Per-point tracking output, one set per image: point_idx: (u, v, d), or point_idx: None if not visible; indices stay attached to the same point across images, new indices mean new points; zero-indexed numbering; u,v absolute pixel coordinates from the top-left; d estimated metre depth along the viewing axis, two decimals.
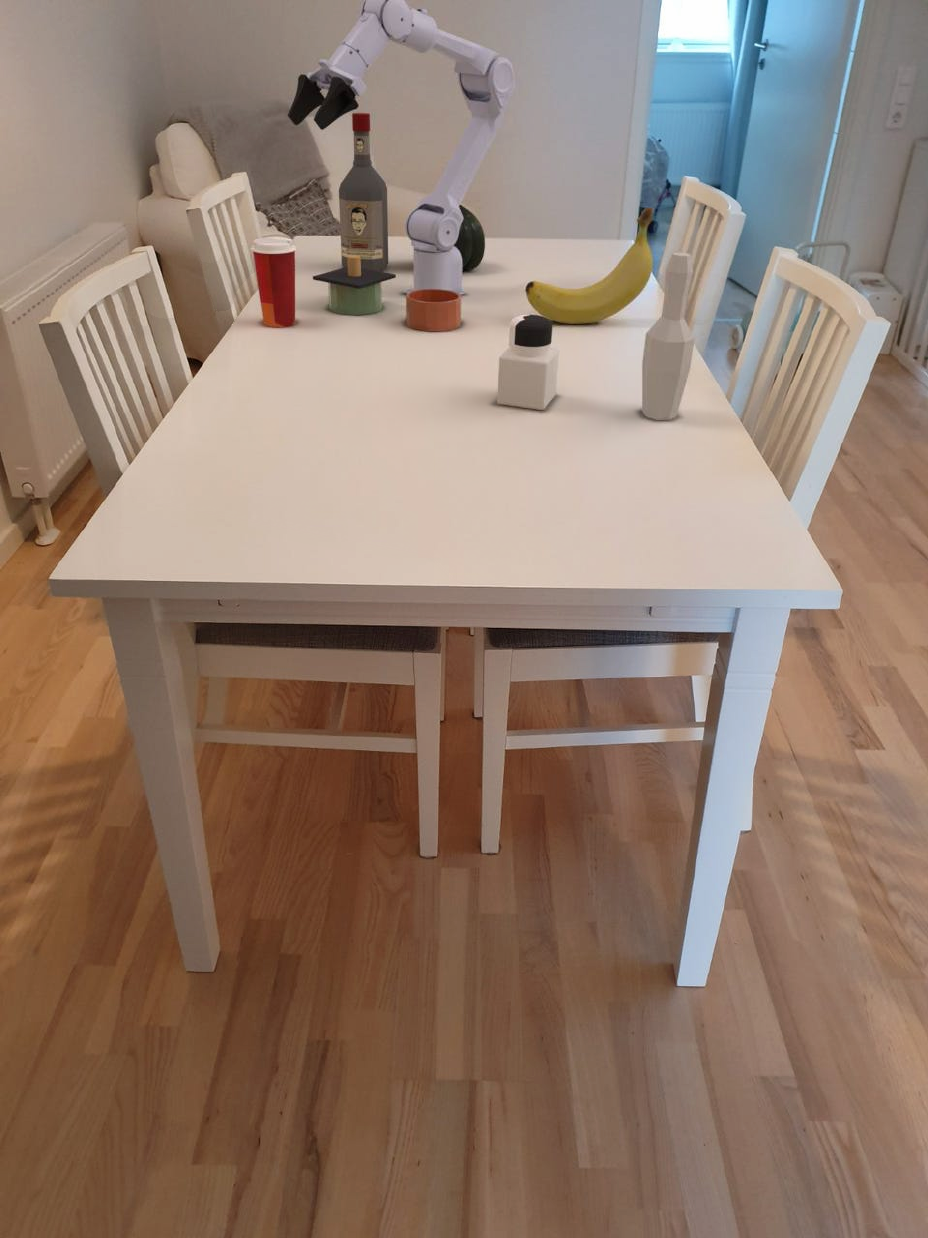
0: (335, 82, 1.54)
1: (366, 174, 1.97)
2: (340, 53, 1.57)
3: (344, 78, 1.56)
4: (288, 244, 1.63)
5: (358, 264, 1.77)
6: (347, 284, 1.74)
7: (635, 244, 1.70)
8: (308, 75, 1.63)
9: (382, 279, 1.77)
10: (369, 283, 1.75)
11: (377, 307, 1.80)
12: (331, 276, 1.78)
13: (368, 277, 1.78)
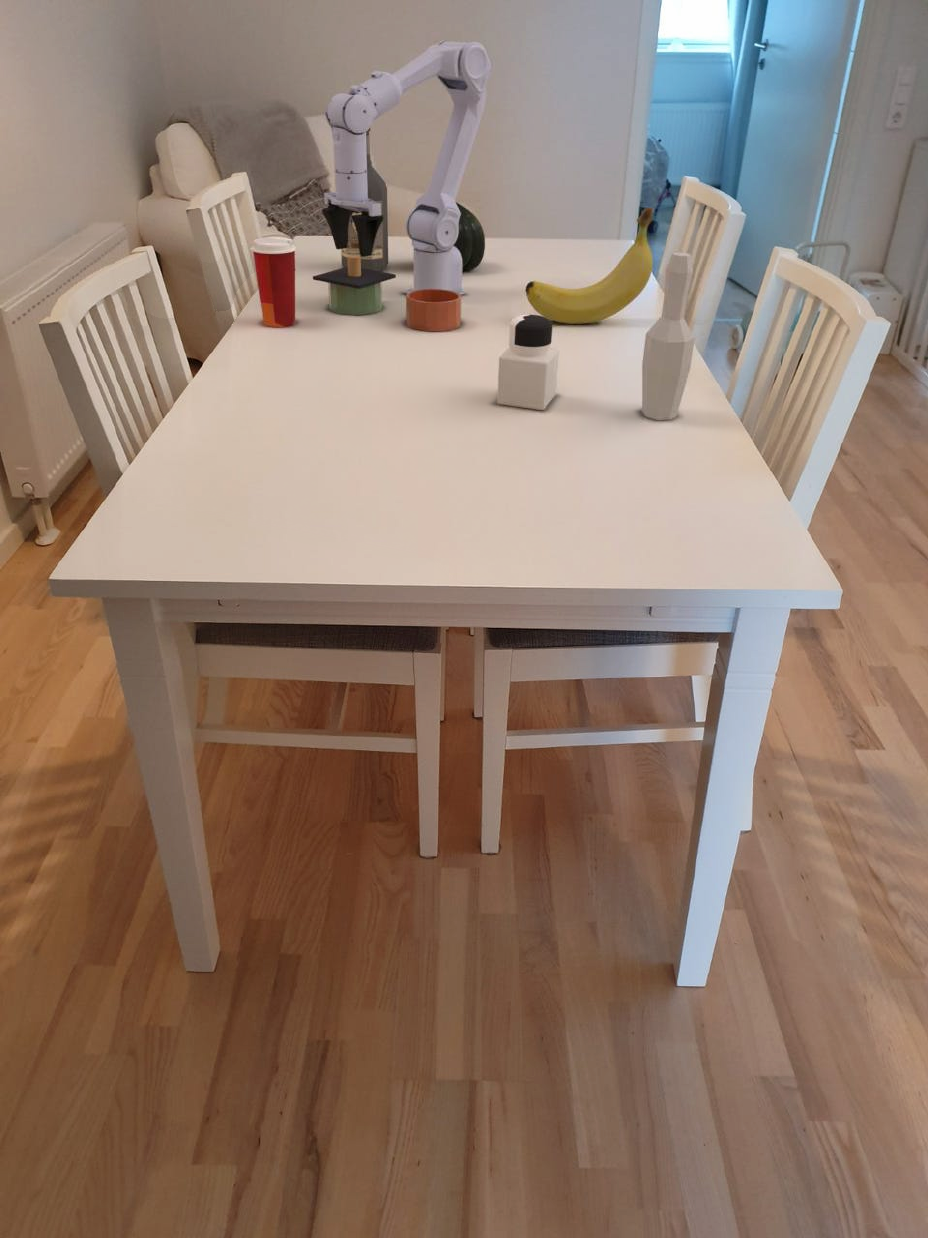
0: (357, 221, 1.69)
1: None
2: (341, 184, 1.68)
3: None
4: (288, 244, 1.63)
5: (358, 264, 1.77)
6: (347, 284, 1.74)
7: (635, 244, 1.70)
8: (326, 198, 1.76)
9: (382, 279, 1.77)
10: (369, 283, 1.75)
11: (377, 307, 1.80)
12: (331, 276, 1.78)
13: (368, 277, 1.78)
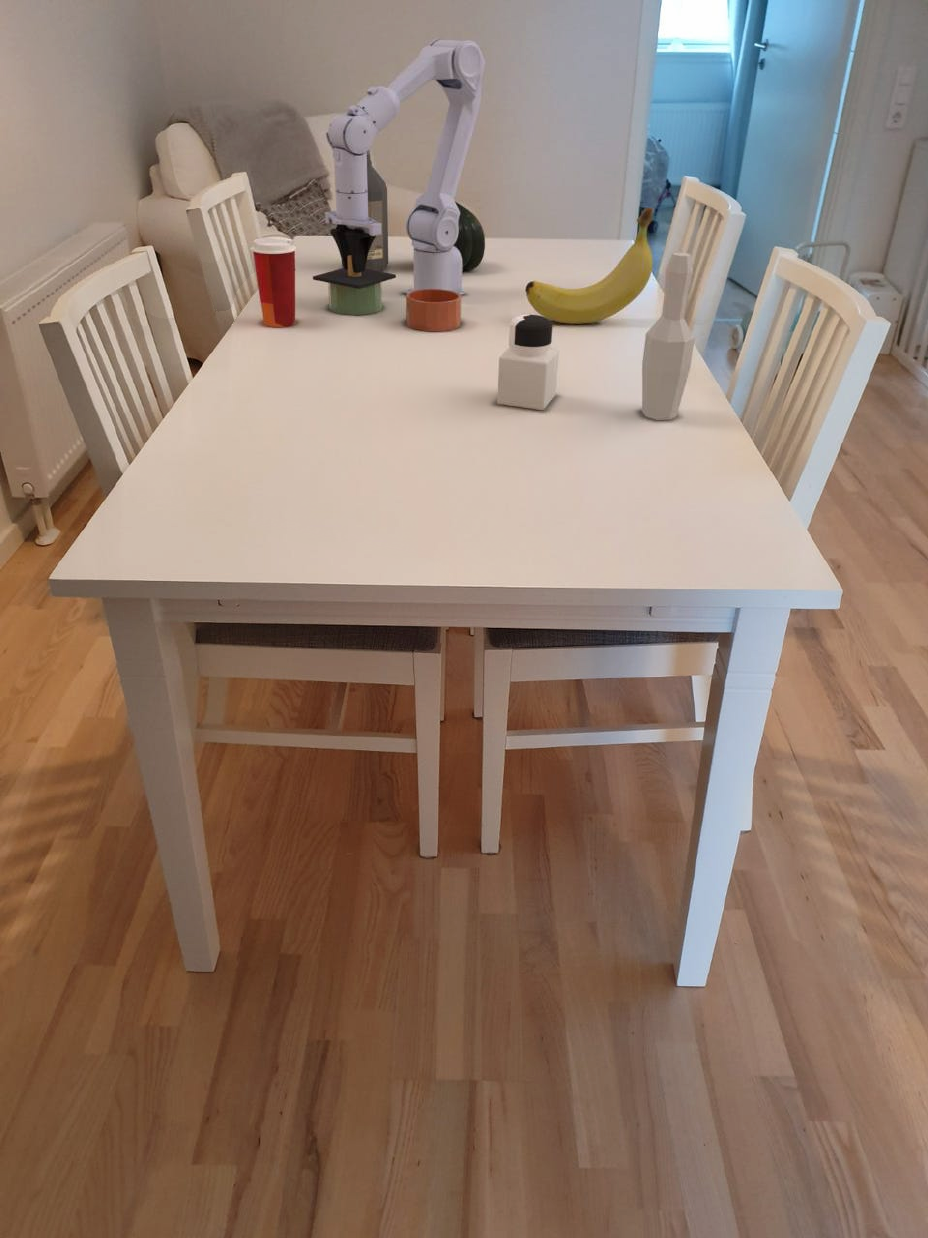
0: (350, 238, 1.72)
1: None
2: (342, 203, 1.70)
3: (360, 226, 1.71)
4: (288, 244, 1.63)
5: None
6: (347, 284, 1.74)
7: (635, 244, 1.70)
8: (327, 217, 1.77)
9: (382, 279, 1.77)
10: (369, 283, 1.75)
11: (377, 307, 1.80)
12: (331, 276, 1.78)
13: (368, 277, 1.78)
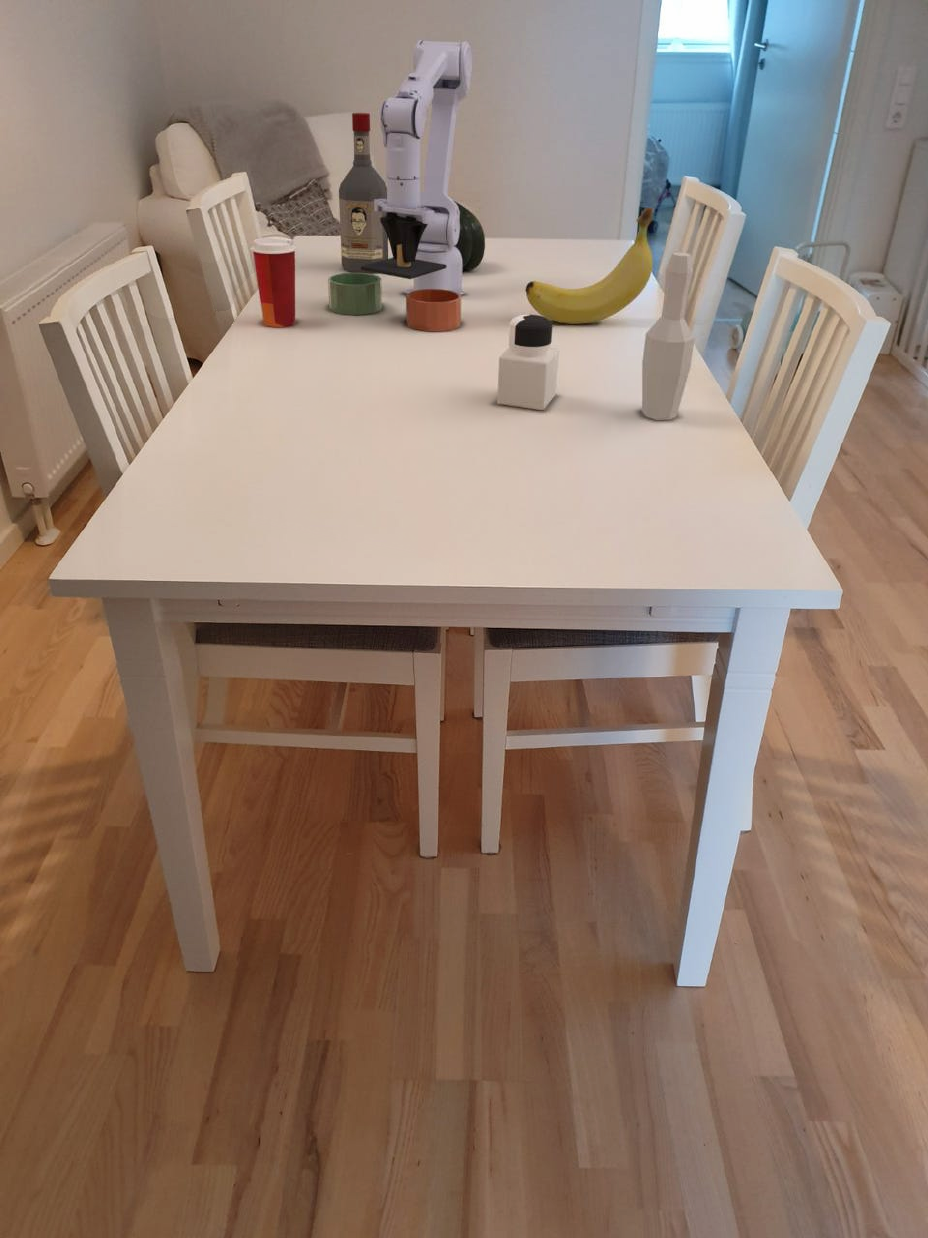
0: (401, 227, 1.65)
1: (366, 174, 1.97)
2: (394, 190, 1.63)
3: None
4: (288, 244, 1.63)
5: None
6: (397, 274, 1.67)
7: (635, 244, 1.70)
8: (376, 204, 1.71)
9: (433, 269, 1.71)
10: (420, 273, 1.68)
11: (377, 307, 1.80)
12: (380, 266, 1.71)
13: (418, 267, 1.71)
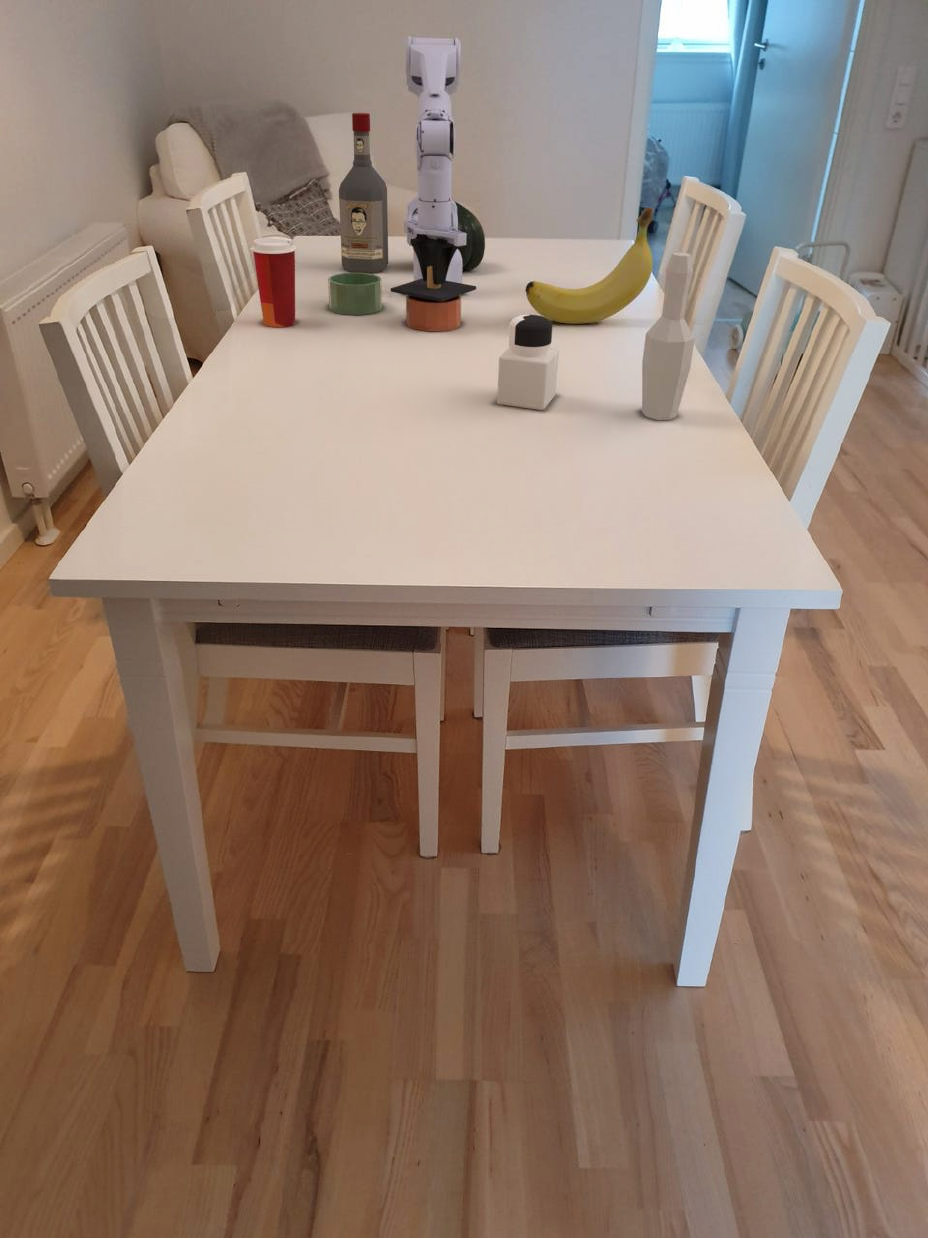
0: (433, 249, 1.64)
1: (366, 174, 1.97)
2: (425, 212, 1.62)
3: (444, 236, 1.63)
4: (288, 244, 1.63)
5: None
6: (428, 297, 1.66)
7: (635, 244, 1.70)
8: (405, 226, 1.69)
9: (463, 291, 1.69)
10: (451, 295, 1.67)
11: (377, 307, 1.80)
12: (410, 288, 1.70)
13: (448, 289, 1.70)
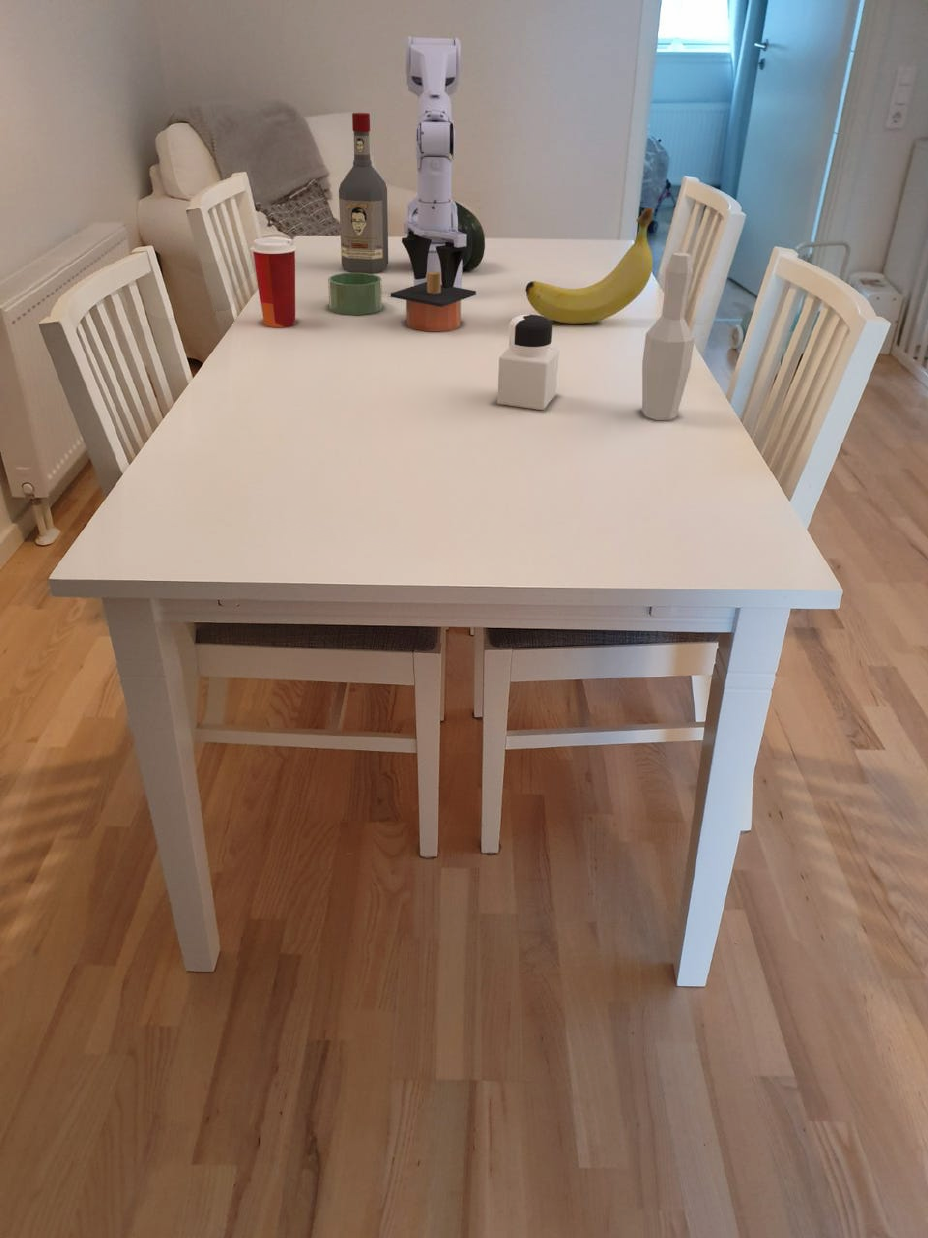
0: (441, 252, 1.63)
1: (366, 174, 1.97)
2: (425, 214, 1.62)
3: (444, 237, 1.63)
4: (288, 244, 1.63)
5: (438, 281, 1.69)
6: (428, 302, 1.66)
7: (635, 244, 1.70)
8: (405, 227, 1.69)
9: (463, 296, 1.70)
10: (451, 301, 1.67)
11: (377, 307, 1.80)
12: (410, 293, 1.70)
13: (448, 294, 1.70)
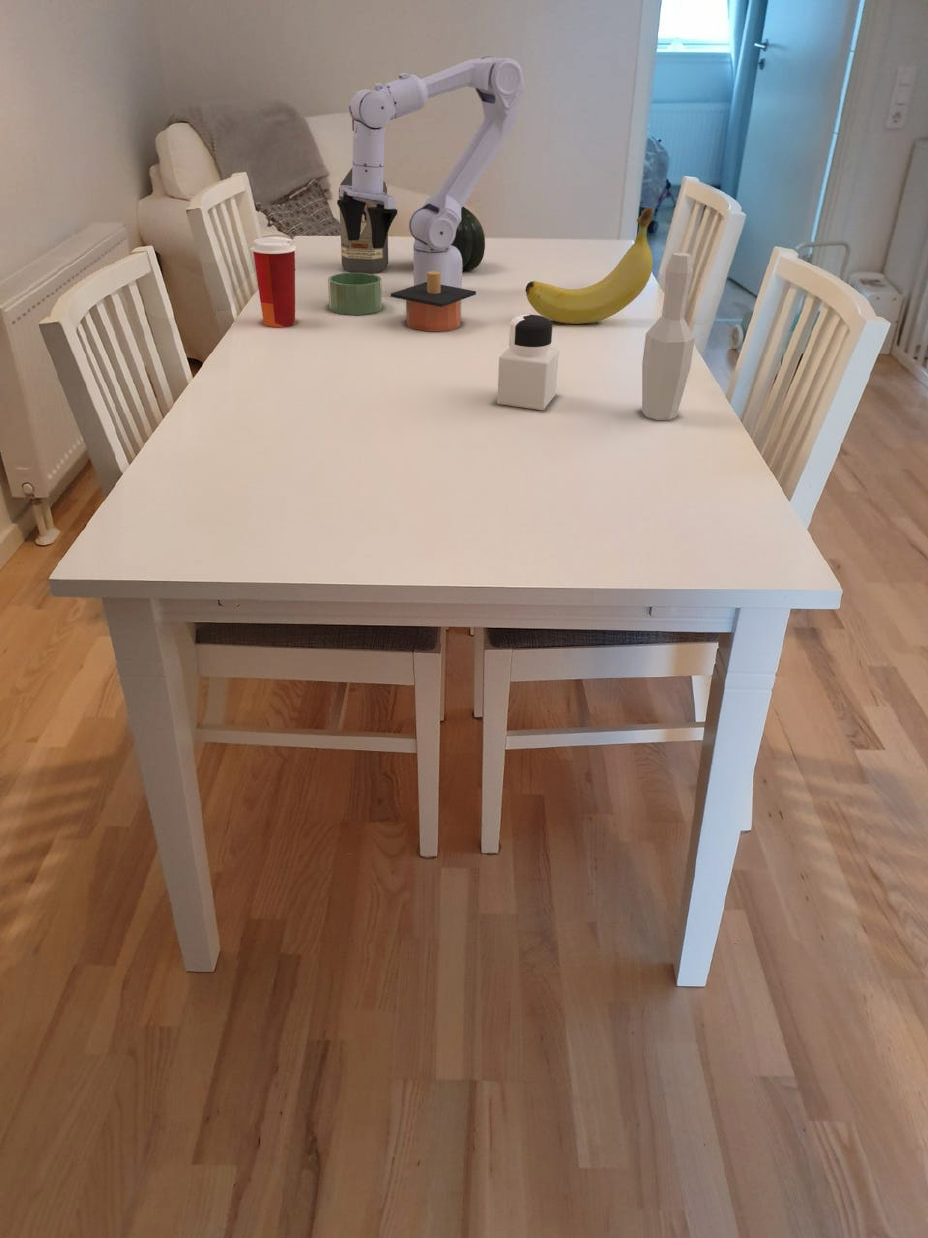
0: (372, 213, 1.74)
1: None
2: (359, 176, 1.73)
3: (375, 199, 1.74)
4: (288, 244, 1.63)
5: (438, 281, 1.69)
6: (428, 302, 1.66)
7: (635, 244, 1.70)
8: (341, 190, 1.80)
9: (463, 296, 1.70)
10: (451, 301, 1.67)
11: (377, 307, 1.80)
12: (410, 293, 1.70)
13: (448, 294, 1.70)
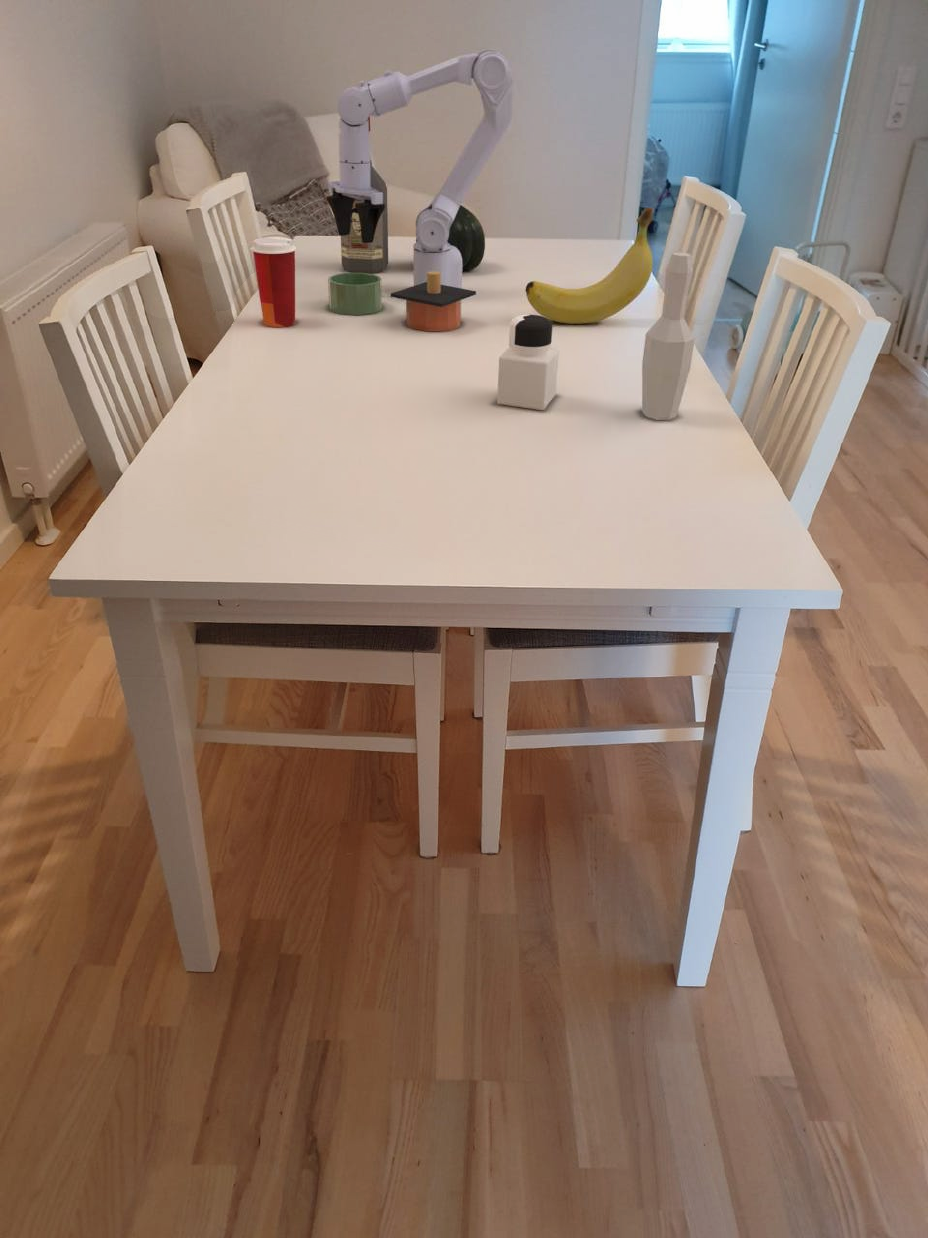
0: (360, 209, 1.77)
1: None
2: (346, 173, 1.77)
3: (362, 195, 1.78)
4: (288, 244, 1.63)
5: (438, 281, 1.69)
6: (428, 302, 1.66)
7: (635, 244, 1.70)
8: (330, 186, 1.84)
9: (463, 296, 1.70)
10: (451, 301, 1.67)
11: (377, 307, 1.80)
12: (410, 293, 1.70)
13: (448, 294, 1.70)
